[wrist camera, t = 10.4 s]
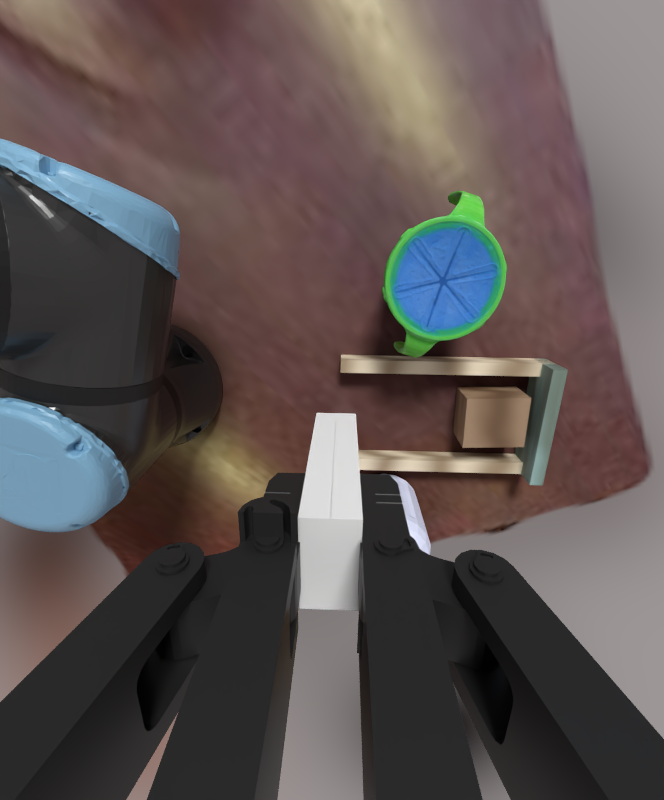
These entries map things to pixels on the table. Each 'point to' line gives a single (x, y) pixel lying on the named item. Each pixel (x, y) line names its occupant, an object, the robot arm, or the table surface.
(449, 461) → the lane
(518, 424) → the block
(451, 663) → the robot arm
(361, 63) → the table surface
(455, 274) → the snack cup
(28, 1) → the table surface
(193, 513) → the table surface
